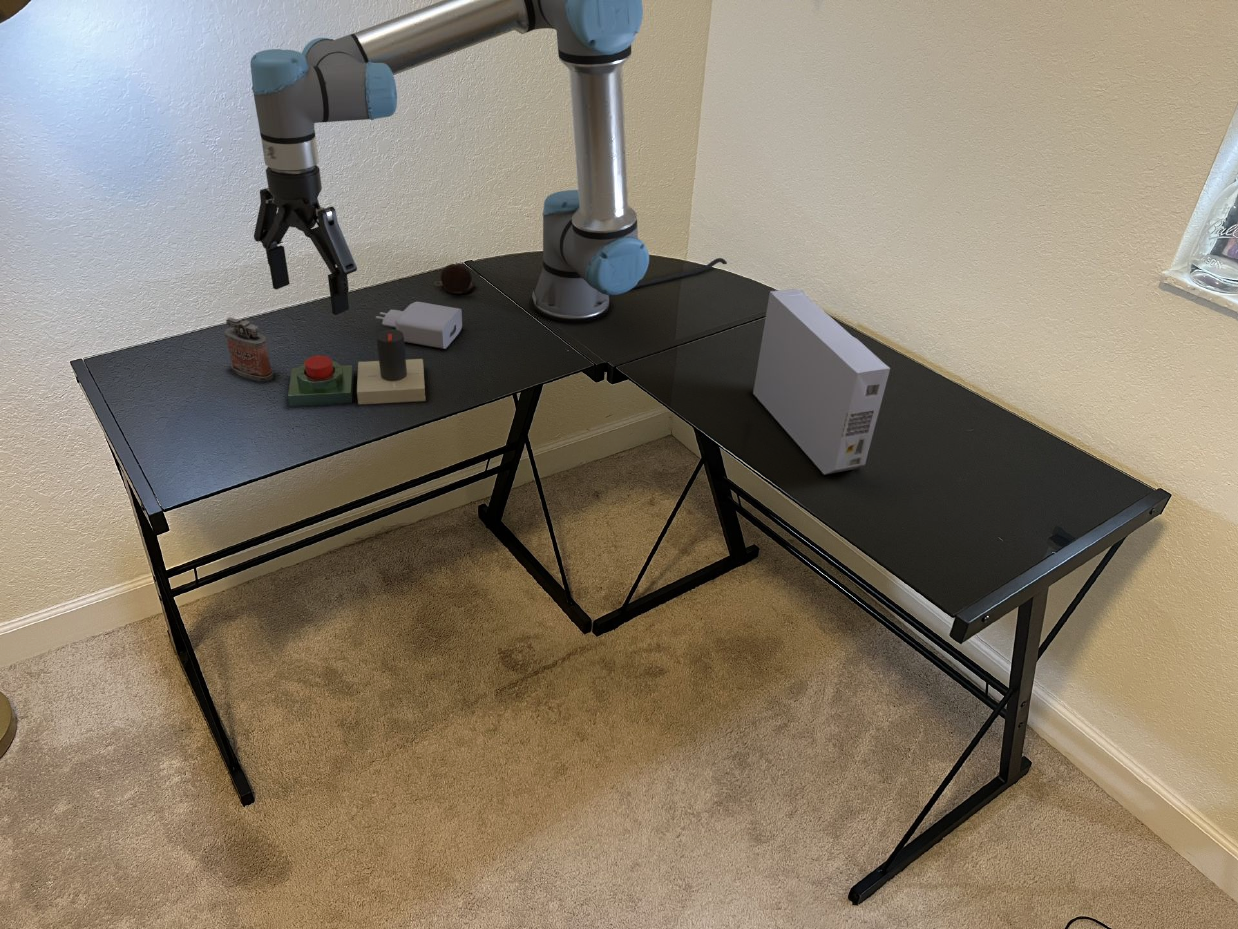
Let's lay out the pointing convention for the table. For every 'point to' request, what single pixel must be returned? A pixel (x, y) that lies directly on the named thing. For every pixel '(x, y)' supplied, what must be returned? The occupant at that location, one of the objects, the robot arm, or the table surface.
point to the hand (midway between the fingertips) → (310, 298)
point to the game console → (819, 382)
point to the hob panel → (390, 384)
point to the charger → (426, 323)
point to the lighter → (248, 350)
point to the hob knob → (391, 354)
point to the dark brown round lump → (456, 279)
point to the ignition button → (319, 367)
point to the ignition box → (321, 387)
